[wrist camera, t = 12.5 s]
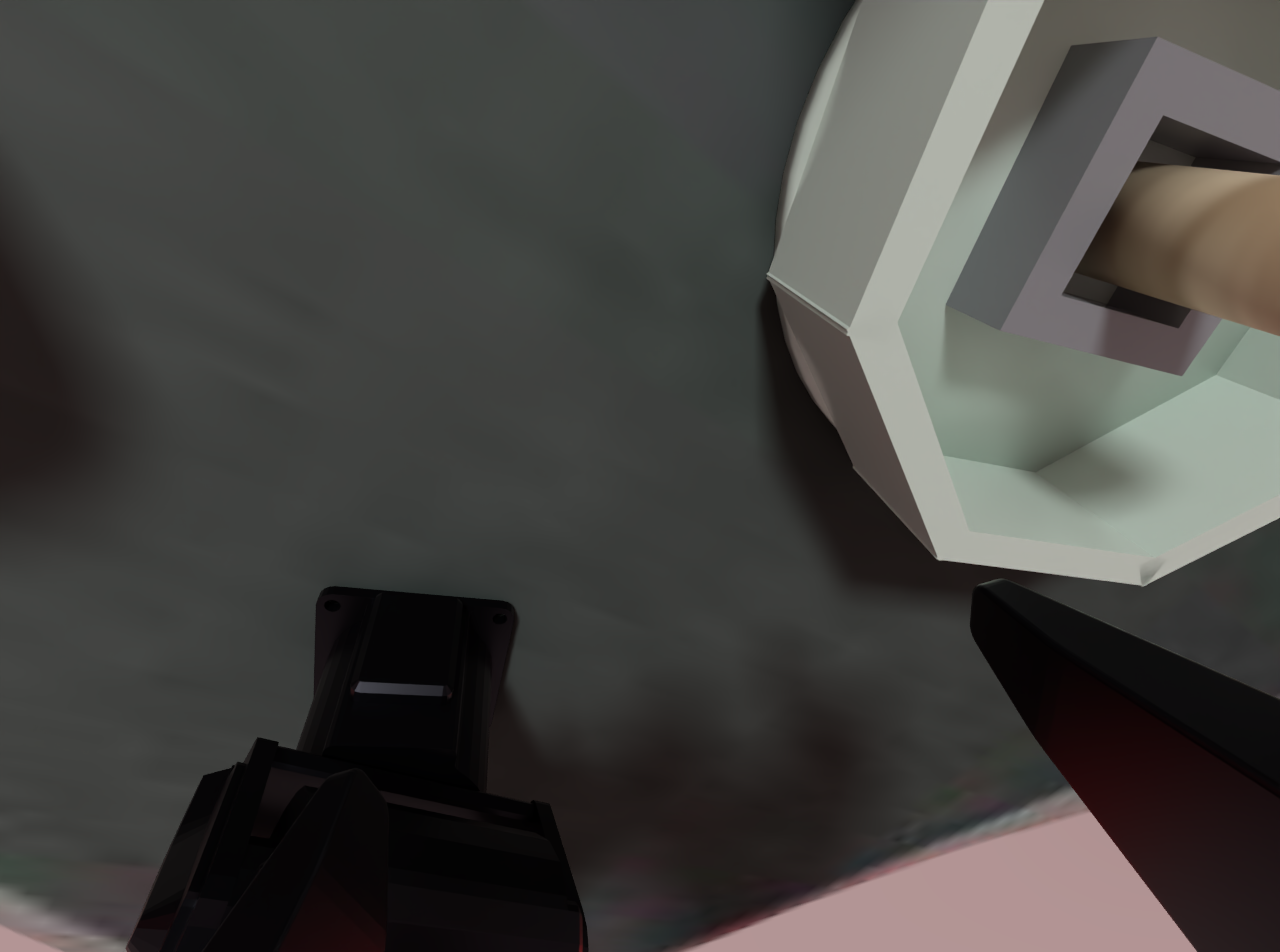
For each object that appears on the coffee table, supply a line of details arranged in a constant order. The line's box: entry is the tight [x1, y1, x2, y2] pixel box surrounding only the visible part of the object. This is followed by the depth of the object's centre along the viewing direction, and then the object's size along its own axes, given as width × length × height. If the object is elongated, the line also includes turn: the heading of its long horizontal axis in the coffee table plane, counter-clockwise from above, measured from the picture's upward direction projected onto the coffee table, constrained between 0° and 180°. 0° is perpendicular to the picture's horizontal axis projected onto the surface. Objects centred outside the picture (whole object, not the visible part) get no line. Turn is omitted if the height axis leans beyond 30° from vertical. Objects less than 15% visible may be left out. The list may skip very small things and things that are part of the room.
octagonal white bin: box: [766, 0, 1280, 586], centre depth 16 cm, size 18×18×6 cm
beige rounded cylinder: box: [1074, 161, 1280, 336], centre depth 14 cm, size 3×3×9 cm
